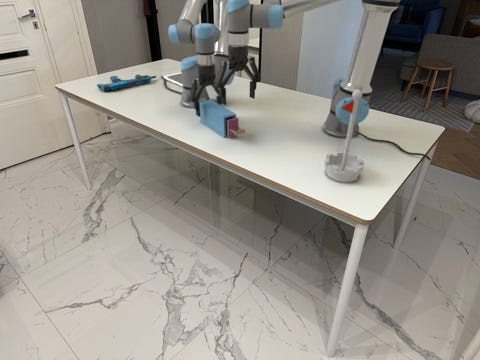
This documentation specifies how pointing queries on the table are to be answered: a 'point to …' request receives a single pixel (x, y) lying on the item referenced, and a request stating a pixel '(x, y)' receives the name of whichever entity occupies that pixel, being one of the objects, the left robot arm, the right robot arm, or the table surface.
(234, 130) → the drawer
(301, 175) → the table surface
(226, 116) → the cabinet
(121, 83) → the submachine gun
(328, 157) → the flag stand
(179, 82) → the tablet
